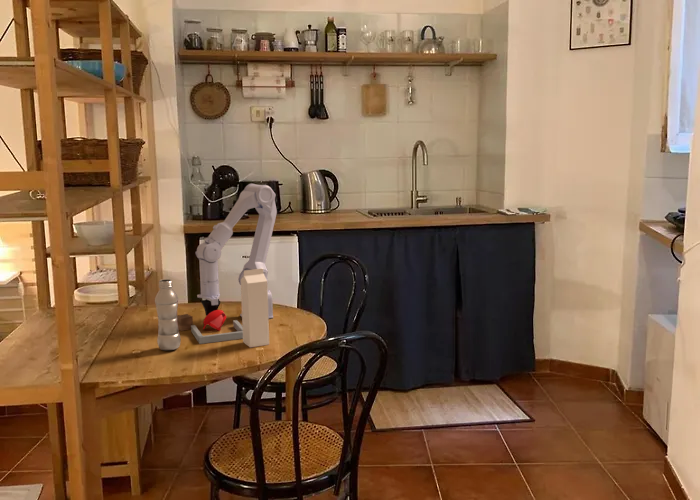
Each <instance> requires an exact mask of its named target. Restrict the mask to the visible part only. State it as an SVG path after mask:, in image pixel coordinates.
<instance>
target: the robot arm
mask: <svg viewBox="0 0 700 500" xmlns="http://www.w3.org/2000/svg"><path fill="white" fill-rule="evenodd" d="M276 196H277V195H276V192H274V190H273V189H272V187H271V186H269V185H267V184H255V183H249V184H247V185H246V186H245V187H244V189H243V190H242V191H241V192H240V194H239V196H238V198H237V200H236V202H235V203H234V205H233V207H232V208H231V210H230V212H229V213H228V215H227V216H226V217H225V219H224V220H223V221H222V222H218V223H217V224H214V225H213V226H212V229H213V230H212V231H211V232H210V234H209V235H208V236H207V237H205V238H204V240H203V242H201V243H200V244H199V245H198V246H197V248H196V251H195V256H196V258H197V259H198V261H199V278H200V279H199V281H200V293H199V294H197V295H196V296H197V299H198V298H199V299H201V300H200V303H201V304H202V306H203V309H204V312H205V317H206V316H207V315H208V314H209V313H211V312H212V311H215V310H219V306H220V304H221V301H220V297H221V293H220V280H219V261H218V260H219V259H220V258H221V256H222V250H223V249H224V247H225V245H226V244H227V243H228V241H229V240H230V239H231V237H232V236H233V234H234V232H233V230H234V229H233V228H234V227H235V225H236V224H238V222H239V221H240V219H241V218H242V217H243V216H244V215H245V214H246V213H247V211H249V210H250V209H254V208H255V210H256V212H257V213H258V219H257V223H256V228H255V233H254V236H253V240H252V245H251V249H250V250H251V251H250V253H249V258H248V261H246V263H245V264H243V268H242V270H241V271H240V273H239V275H238V277H237V278H238V280H237V281H238V283H239V285H240V286H241V279H242V277H243V276H244V270H253V269H263V274H264V276H265V278H266V279H267V286H268V284H269V280H268V272H269V270H268V269H267V266H266V261H267V257H268V253H269V249H270V244H271V240H272V236H273V231H274V226H275V223H276V219H277V218H276V217H277V214H278V210H277V206H276ZM273 306H274V305H273V295H272V292H271V290H270V289H268V319H273V318H274V312H273V310H274V309H273ZM239 316H240V317H241V318H242V313H240V314H239Z"/></svg>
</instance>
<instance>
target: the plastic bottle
mask: <svg viewBox="0 0 700 500" xmlns="http://www.w3.org/2000/svg"><path fill="white" fill-rule="evenodd" d="M158 288H159V290H158V292H157V293H156V294H155V295H156V296H155V297H154V303H155V308H156V313H157V321H158V325H157V327H158V329H157V330H158V334H157V339H156V341H157V346H158V348H159V349H160V350H162V351H174V350H177V349H178V348H179V347H180V346H181V335H180V330H178V323H177V316H178V307H179V306H178V304H179V297H178V295H177V294H176V292H175V290H174V289H173V280H172V279H170V278H169V279H167V278H166V279H159V281H158Z"/></svg>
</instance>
